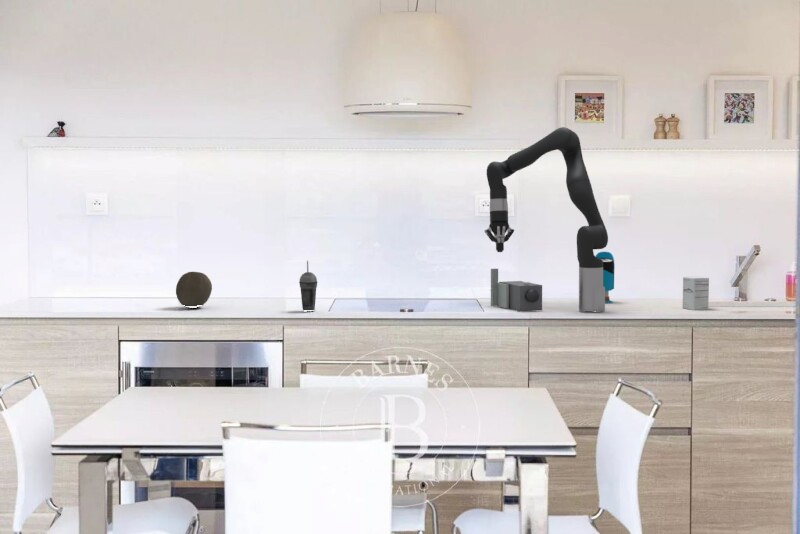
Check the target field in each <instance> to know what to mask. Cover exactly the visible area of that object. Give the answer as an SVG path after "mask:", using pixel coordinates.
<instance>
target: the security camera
mask: <svg viewBox="0 0 800 534" xmlns="http://www.w3.org/2000/svg"><path fill="white" fill-rule="evenodd" d="M595 256H596V257H597V258H599V259H601V260H603V287H605V304H614V302H613V300H610V296H609V291H613V290H614V289H615V259H614V255H613V254H612V253H611V252H610V251H600V252H598V253H596V255H595Z"/></svg>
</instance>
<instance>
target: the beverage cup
mask: <svg viewBox="0 0 800 534" xmlns="http://www.w3.org/2000/svg"><path fill="white" fill-rule="evenodd" d="M298 283H299V288H300V293H301V294H300V297H301V305H302V307H301V308H302V311H303V310H314V311H315V308H316V295H317V288H318V279H317V276H316V275H315V274H314V273H313V272H310V271H309V260H306V272H304V273H302V274H301V275H300V278H299V282H298Z"/></svg>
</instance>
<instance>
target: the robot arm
mask: <svg viewBox="0 0 800 534" xmlns="http://www.w3.org/2000/svg"><path fill="white" fill-rule="evenodd" d="M557 150H558V151H559V152H561V155H562V156H563V159H564V162H565V166H566V175H565V176H566V178H565V183H566V189H567V192H568V196H569V198H570V201H571V202H572V204H573V205H574V206H575V208H577V209H578V210H579V212H580V213H581V214H582V215H583V216H584V218H585V220H586V221H587V225H583V226H580V228H579V229H578V230H577V234H576V252H577V255H576V257H577V261H578V312H580V311H596V312H595V313H600V312H599V311H603V312H606V303H605V287H603V260H601V259H599V258H597V257H596V255H595V254H594V253H595V252H594V250H603V249H605V248H606V247H607V246H608V243H609V236H608V232H607V228H606V226H605V222H604V221H603V218H602V216H601V213H600V210H599V207H598V204H597V201H596V198H595V195H594V191H593V187H592V183H591V180H590V176H589V174H588V171H587V167H586V165H585V162H584V158H583V153H582V146H581V141H580V137H579V136H578V134H577V133H576V132H575V131H573V130H572V129H570V128H568V127H563V126H562V127H557V128H556V129H554V130H553V131H551V132H550V133H548V134H547V135H546V136H544V137H543V138H541V139H539V140H538V141H537V142H535V143H533V144H531V145H529V146H527V147H526V148H524V149H521V150H519V151H518V152H515V153H513V154H510V155H509V156H508V158H506V159H505V160H504V161H501V162H500V161H491V162H490V163H488V165H487V167H486V179H487V183H488V186H489V198H490V199H489V222H490V223H489V226H488V228H487V229H485V230H484V233H485V235H486V236H487V237H488V239H489V240H490V241H491V242H493V243H495V251H496V252H497V253H503V251H504V250H505V247H504V245H505V244H504V243H506V242H508V241H509V240H510V238H511V237H512V235H513V234H514V232H515V228H514V229H513V228H512V227H510V224H509V205H508V190H507V189H508V188H507V186H506V185H505V184H504V181H503V180H504V179H506V178H509V177H511V176H512V175H513V174H515V173H516V172H518V171H520V170H523V169H524V168H528V167H529V166H531V165H533V164H535V162H536V161H538V160H539V159H540V158H541V157H542V156H543V155H546V154H547V153H550V152H554V151H557Z"/></svg>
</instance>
